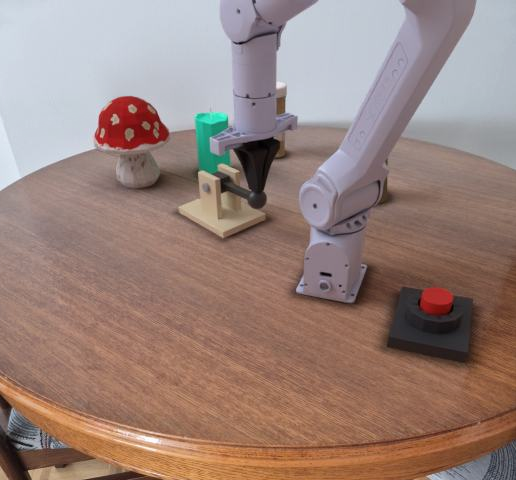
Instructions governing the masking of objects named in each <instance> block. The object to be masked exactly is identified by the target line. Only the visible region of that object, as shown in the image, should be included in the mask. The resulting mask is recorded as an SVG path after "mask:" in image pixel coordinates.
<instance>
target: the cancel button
mask: <svg viewBox="0 0 516 480" xmlns="http://www.w3.org/2000/svg"><path fill="white" fill-rule="evenodd" d="M423 290H424V291H423V293H422V297H421V301H420V308H421V309H422V311H424V312H426V313H428V314H431V315H437V316H441V315H447V314H448V313H449V312H450V310H451V306H452V302H453V295H454V294H453V293H451V291H449V290H448V289H445V288H443V287H437V286H432V287H427V288H425V289H423Z"/></svg>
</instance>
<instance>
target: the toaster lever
mask: <svg viewBox="0 0 516 480" xmlns="http://www.w3.org/2000/svg"><path fill="white" fill-rule="evenodd" d="M211 175H213V176H215V177H217V178H220V186H221V194H222V193H224V192H227V191H229V192H231V193H233V194H235V195H238V196H240V197H241V199H242V198H243V199H244V200H246V202H247V205H249V206H250V207H251V208H253V209H257V210H261V209H262V208H264V207H265V206H266V204H267V201H268V196H267V194H266V191H265V190H264V191H261V192H259V193H256V192H254V191H252V190H250V189H248V188H245V187H242V186H241V185H240V186H238V185H235V184H233V183H231V182H230V176H229V175H227V174H225V173H222V172H220V171H218V172H215V173H212V174H211Z"/></svg>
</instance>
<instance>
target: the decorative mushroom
mask: <svg viewBox="0 0 516 480" xmlns="http://www.w3.org/2000/svg"><path fill="white" fill-rule="evenodd" d="M97 121H98V122H97V128H96V129H95V132H94V134H93V137H92V142H93V143H92V144H93V146H94V147H95V148H96V149H97V150H99V151H100V152H103V153H105V154H112V155H118V160H117V163H116V164H115V165H116V166H115V168H116V169H115V174H116V180H117V181H118V182H119V183H120V184H121V185H122V186H124V187H126V188H128V189H143V188H147V187H150V186H153V185H154V184H155V183H156V182H157V181H158V179H159V177H160V174H161V173H160V168H159V165H158V163H157V161H156V159H155V158H154V156H153V155H152V153H151V152H152V151H155V150H159V149H162V148H163V147H164V146H165V145H166V144H168V143H169V142H170V141H171V140H172V139H171V138H172V134H171V131H170V129H169V128H168V127H167V126H166V125H165V124H164V123H163V122H162V120H161V117H160V115H159V113H158V111H157V109H156V108H155V107H154V105H153V104H151V103H150V102H149V101H147V100H145V99H143V98H141V97H138V96H133V95H122V96H118V97H116V98H114V99H111V100H110V101H109V102H107V104H106V105H104V106H103V108H102V109H101V111H100V112H99V115H98V120H97Z"/></svg>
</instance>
